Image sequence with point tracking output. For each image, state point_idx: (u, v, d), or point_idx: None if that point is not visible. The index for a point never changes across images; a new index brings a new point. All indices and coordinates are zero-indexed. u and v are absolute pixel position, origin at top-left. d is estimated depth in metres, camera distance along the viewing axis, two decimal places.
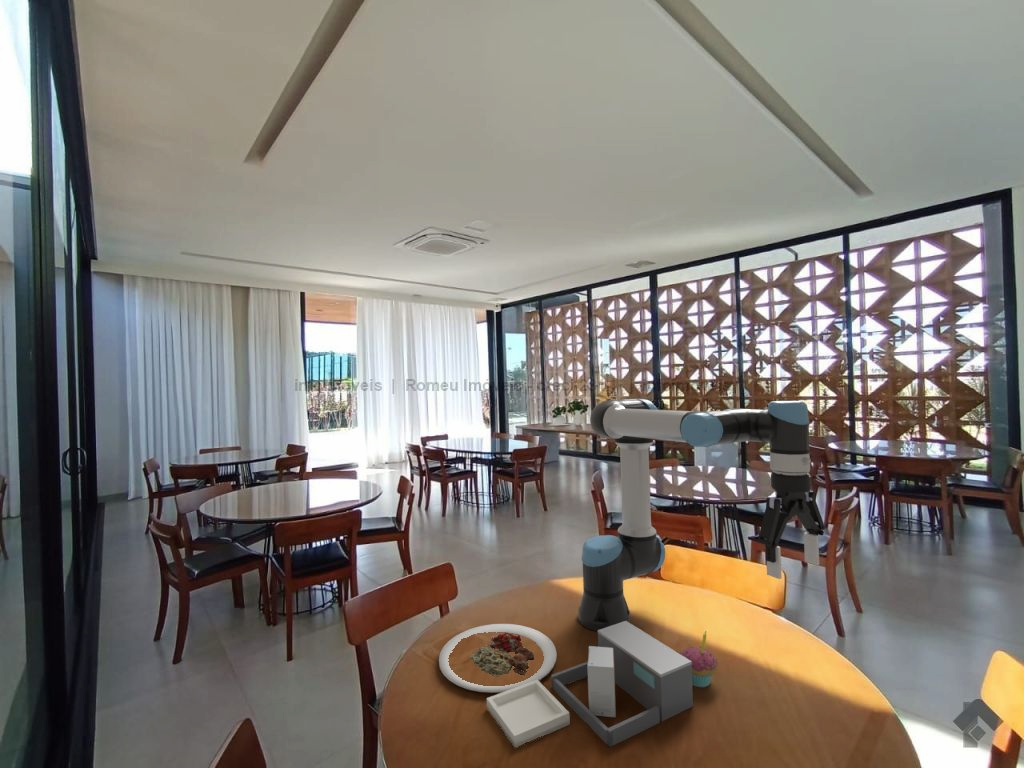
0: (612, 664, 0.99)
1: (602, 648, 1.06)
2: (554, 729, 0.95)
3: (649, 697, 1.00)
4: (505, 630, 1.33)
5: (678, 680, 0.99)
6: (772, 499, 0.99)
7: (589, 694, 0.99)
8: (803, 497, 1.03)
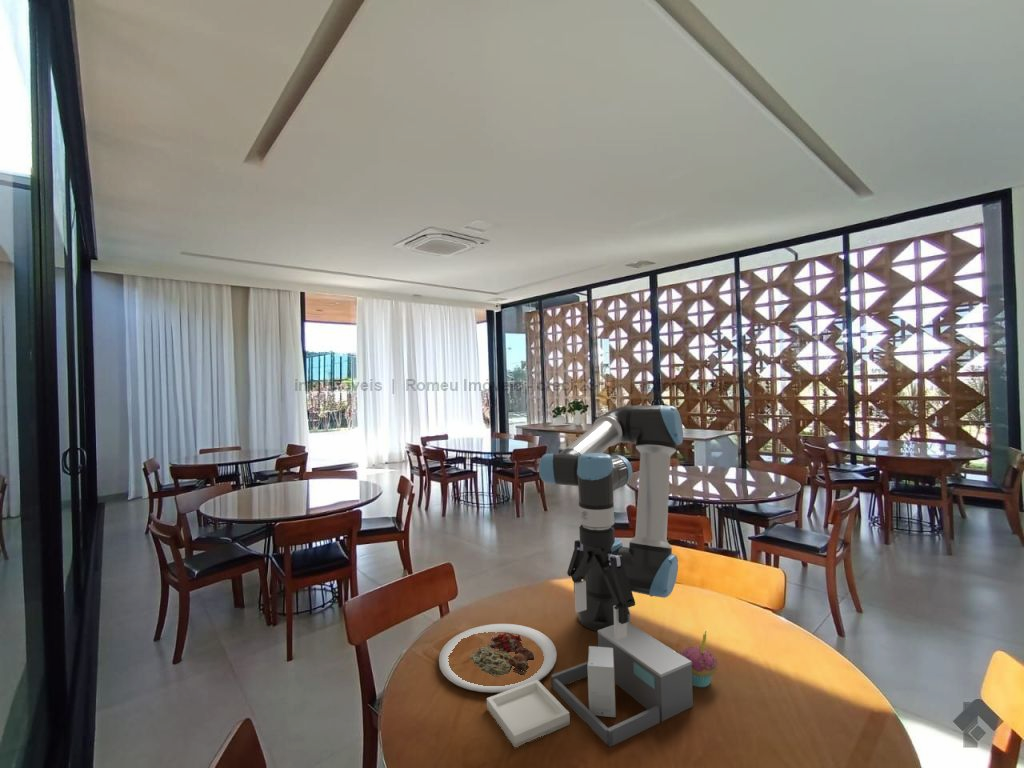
0: (612, 664, 0.99)
1: (602, 648, 1.06)
2: (554, 729, 0.95)
3: (649, 697, 1.00)
4: (505, 630, 1.33)
5: (678, 680, 0.99)
6: None
7: (589, 694, 0.99)
8: (601, 556, 1.00)
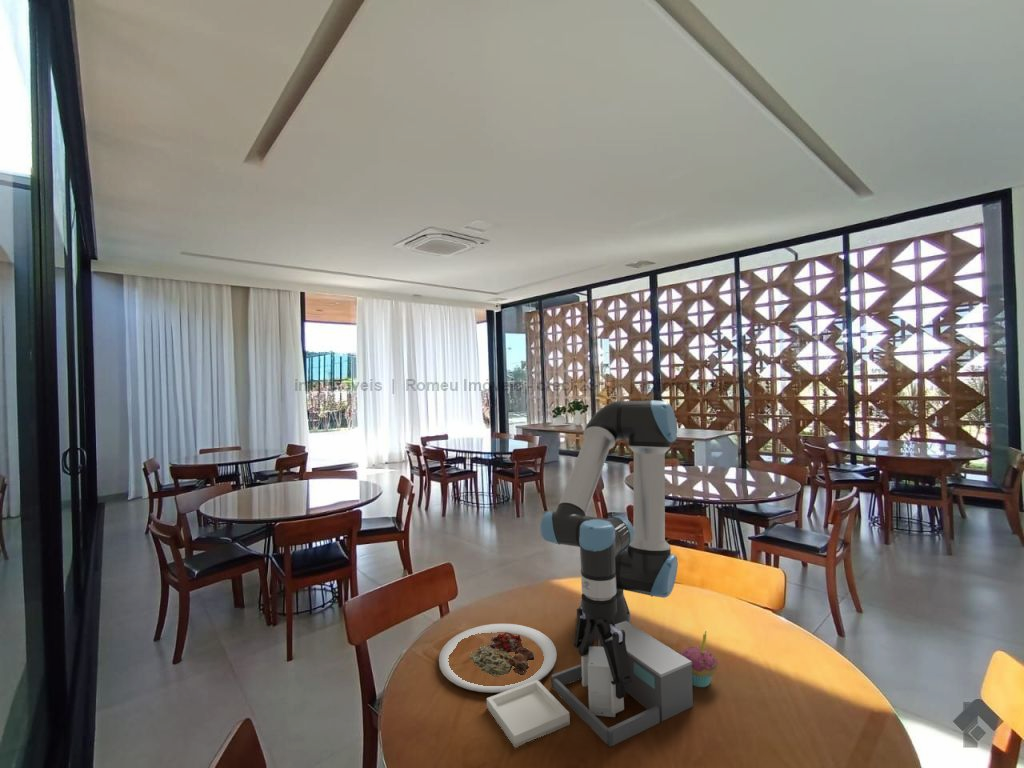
0: None
1: (602, 648, 1.06)
2: (554, 729, 0.95)
3: (649, 697, 1.00)
4: (505, 630, 1.33)
5: (678, 680, 0.99)
6: None
7: (589, 694, 0.99)
8: (603, 626, 1.00)
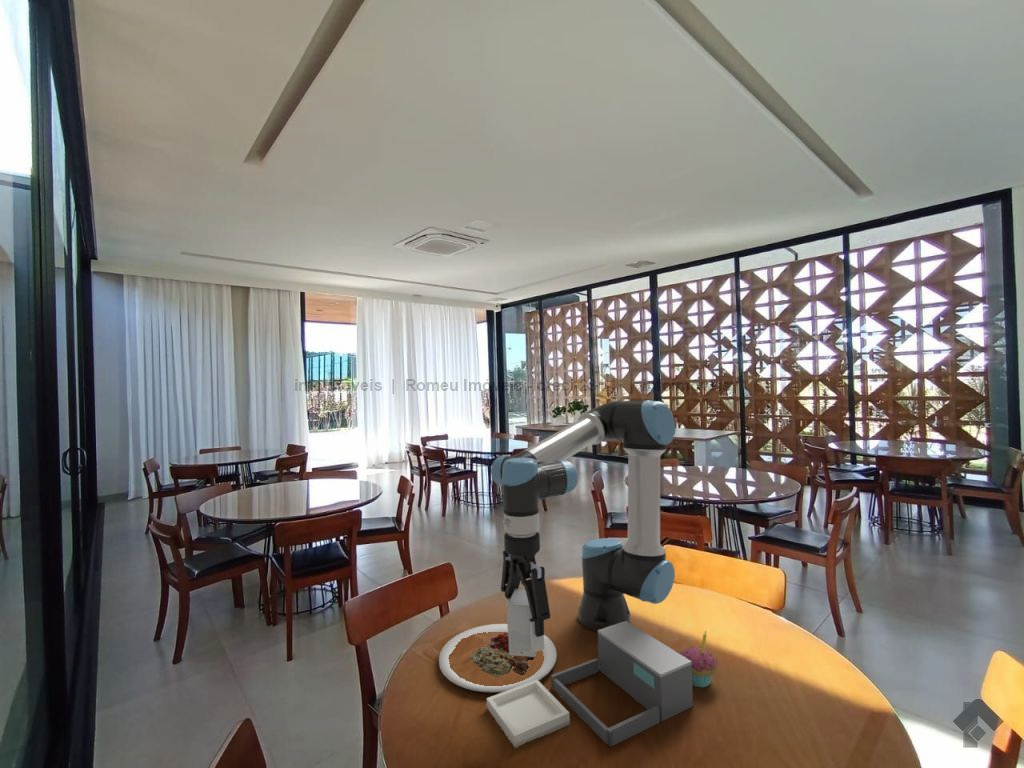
0: None
1: None
2: (554, 729, 0.95)
3: (649, 697, 1.00)
4: (505, 630, 1.33)
5: (678, 680, 0.99)
6: None
7: (509, 633, 0.96)
8: (524, 564, 0.97)
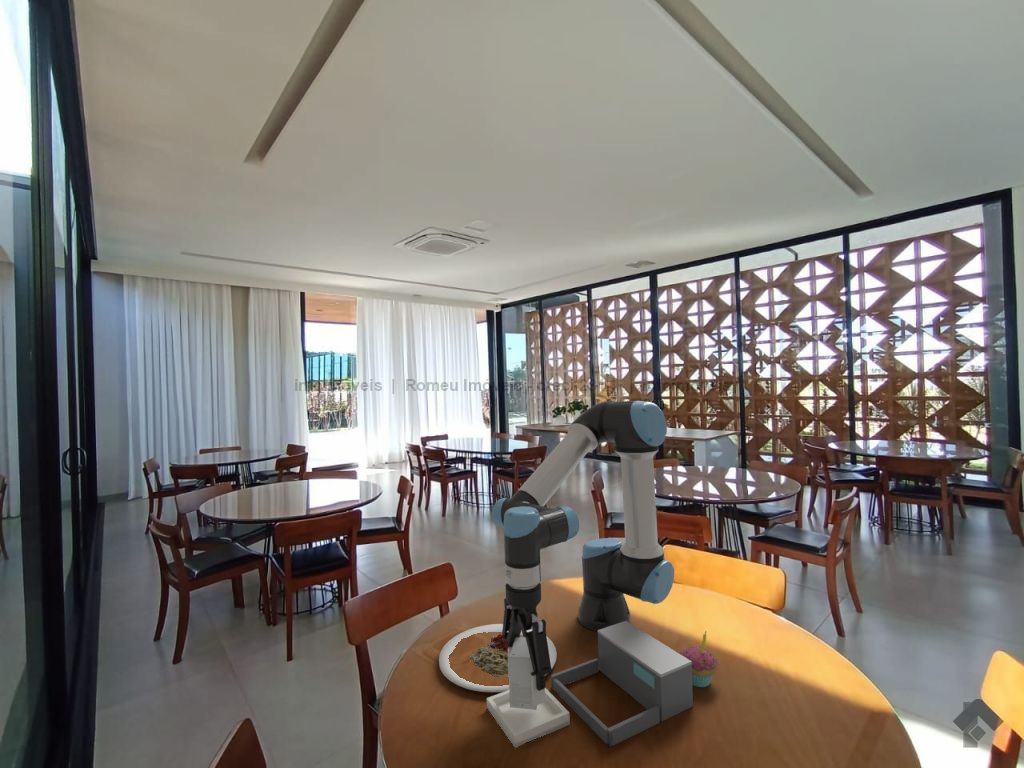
0: None
1: None
2: (554, 729, 0.95)
3: (649, 697, 1.00)
4: None
5: (678, 680, 0.99)
6: None
7: (510, 686, 0.96)
8: (525, 615, 0.97)
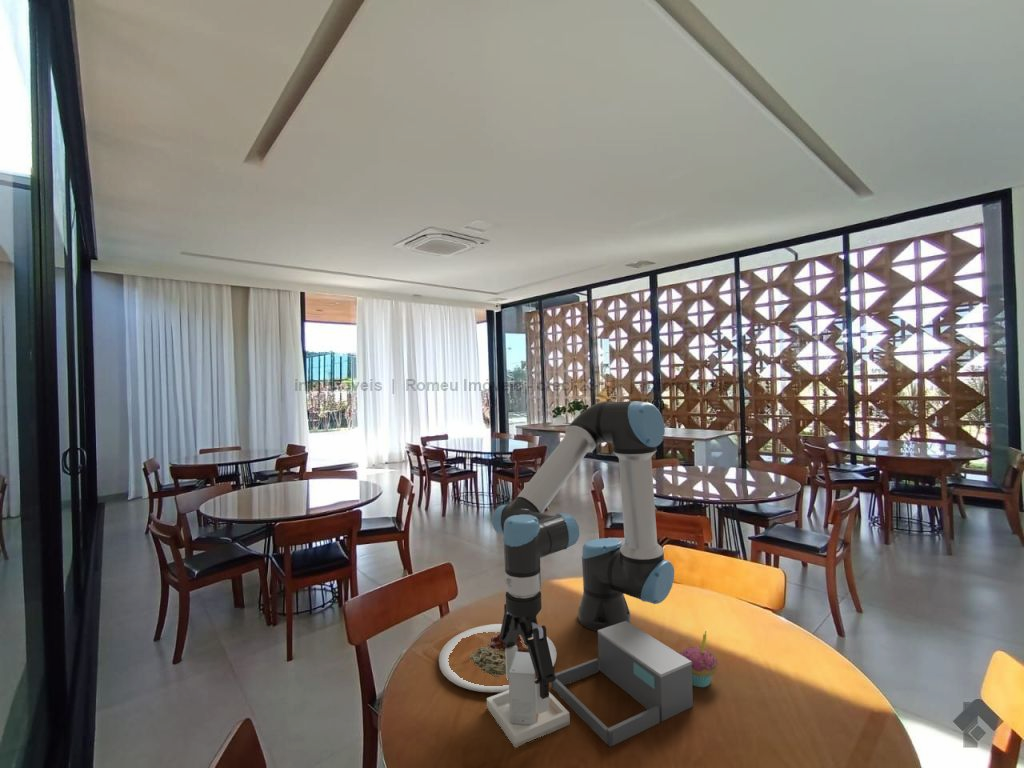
0: (534, 671, 0.96)
1: (528, 654, 1.03)
2: (554, 729, 0.95)
3: (649, 697, 1.00)
4: None
5: (678, 680, 0.99)
6: None
7: (510, 701, 0.96)
8: (525, 624, 0.97)
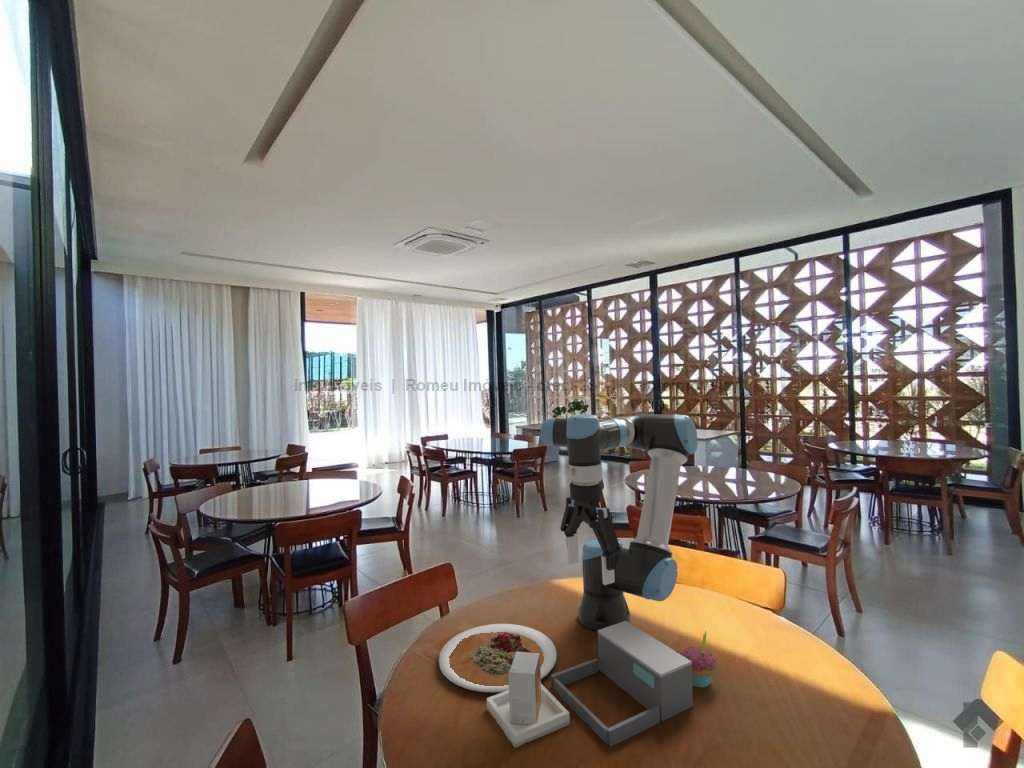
0: (534, 671, 0.96)
1: (528, 654, 1.03)
2: (554, 729, 0.95)
3: (649, 697, 1.00)
4: (505, 630, 1.33)
5: (678, 680, 0.99)
6: None
7: (510, 701, 0.96)
8: (589, 509, 1.07)
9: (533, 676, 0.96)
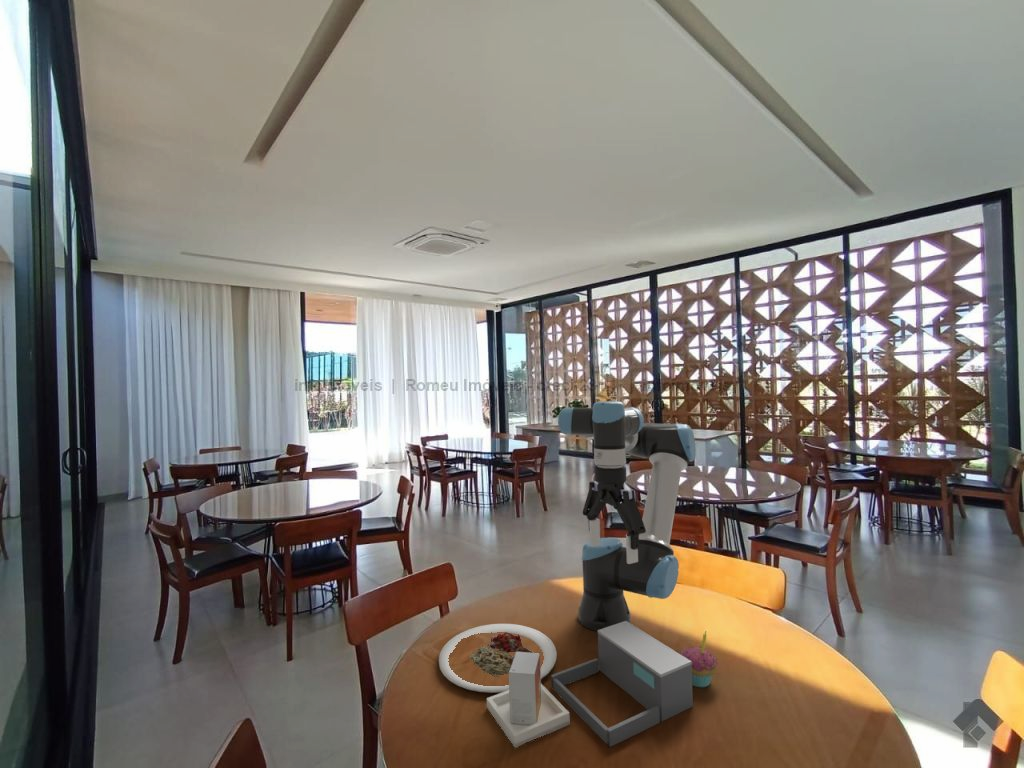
0: (534, 671, 0.96)
1: (528, 654, 1.03)
2: (554, 729, 0.95)
3: (649, 697, 1.00)
4: (505, 630, 1.33)
5: (678, 680, 0.99)
6: None
7: (510, 701, 0.96)
8: (614, 491, 1.11)
9: (533, 676, 0.96)
